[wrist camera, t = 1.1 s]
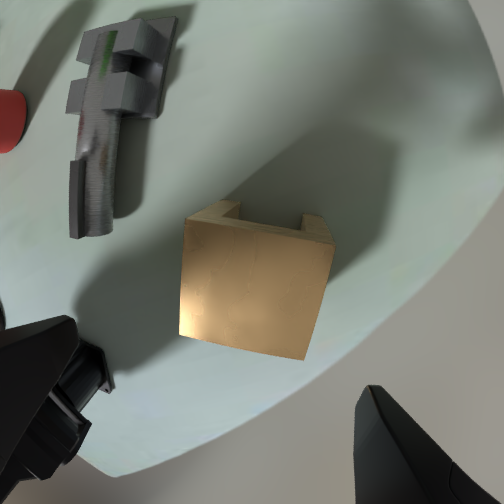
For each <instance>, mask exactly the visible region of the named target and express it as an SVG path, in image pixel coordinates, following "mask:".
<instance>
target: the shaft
mask: <svg viewBox="0 0 504 504" xmlns="http://www.w3.org/2000/svg"><path fill="white" fill-rule="evenodd" d="M177 22H178V18H177V17H176V16H174V17H166V18H159V19H152V20H146V21H145V20H143V19H142V18H138V19H133V20H128V21H124V22H119V23H115V24H111V25H107V26H103V27H99V28H96V29H92V30H89V31H86V32H84V34H83V37H82V41H81V44H80V48H79V51H78V55H77V59H76V61H79V62H82V63H85V64H88V65H90V66H89V70H88V75H87V78H83V79H78V80H74V81H71V85H70V90H69V95H68V100H67V106H66V114H76V115H80V119H79V126H78V135H77V144H76V155H75V161H71V162H70V180H69V229H70V238H74V239H80V238H82V237H85V236H87V237H94V236H102V235H106V234H109V233H111V232H112V231H113V204H114V183H115V169H116V158H117V148H118V139H119V131H120V123H121V119H131V118H157V117H158V111H159V105H160V99H161V93H162V88H163V82H164V77H165V72H166V67H167V63H168V58H169V54H170V49H171V45H172V41H173V37H174V33H175V29H176V25H177Z"/></svg>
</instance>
